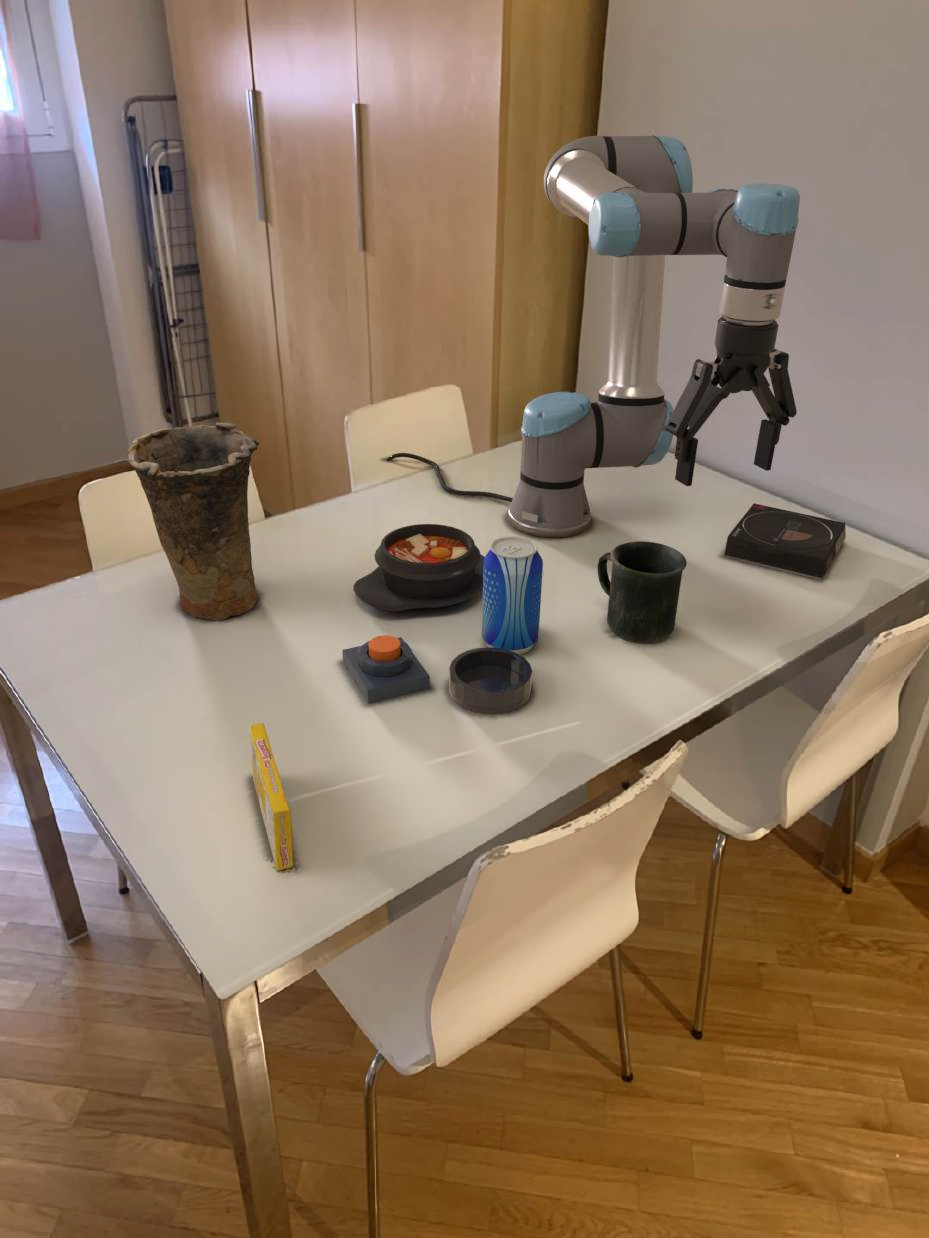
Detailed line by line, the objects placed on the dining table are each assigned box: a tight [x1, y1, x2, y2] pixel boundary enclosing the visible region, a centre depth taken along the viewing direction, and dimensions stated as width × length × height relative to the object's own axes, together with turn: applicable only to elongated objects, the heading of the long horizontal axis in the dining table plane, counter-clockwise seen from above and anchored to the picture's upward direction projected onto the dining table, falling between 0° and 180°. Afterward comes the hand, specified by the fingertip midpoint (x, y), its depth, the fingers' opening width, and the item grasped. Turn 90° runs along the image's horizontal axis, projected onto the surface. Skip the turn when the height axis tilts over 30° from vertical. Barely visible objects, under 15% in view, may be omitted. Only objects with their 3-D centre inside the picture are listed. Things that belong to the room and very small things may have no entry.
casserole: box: [353, 523, 486, 612], centre depth 157 cm, size 25×19×8 cm
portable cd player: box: [724, 502, 847, 581], centre depth 172 cm, size 16×17×4 cm
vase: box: [126, 422, 260, 621], centre depth 148 cm, size 18×18×27 cm
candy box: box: [249, 722, 294, 871], centre depth 109 cm, size 16×2×8 cm, turn 20°
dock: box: [448, 646, 533, 715], centre depth 134 cm, size 11×11×4 cm
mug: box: [597, 540, 688, 644], centre depth 148 cm, size 11×15×12 cm
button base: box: [341, 636, 431, 704], centre depth 136 cm, size 11×9×4 cm
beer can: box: [481, 535, 544, 655], centre depth 141 cm, size 8×8×16 cm
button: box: [368, 634, 401, 662], centre depth 135 cm, size 4×4×2 cm
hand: (723, 474), depth 135 cm, fingers open, 13 cm apart
